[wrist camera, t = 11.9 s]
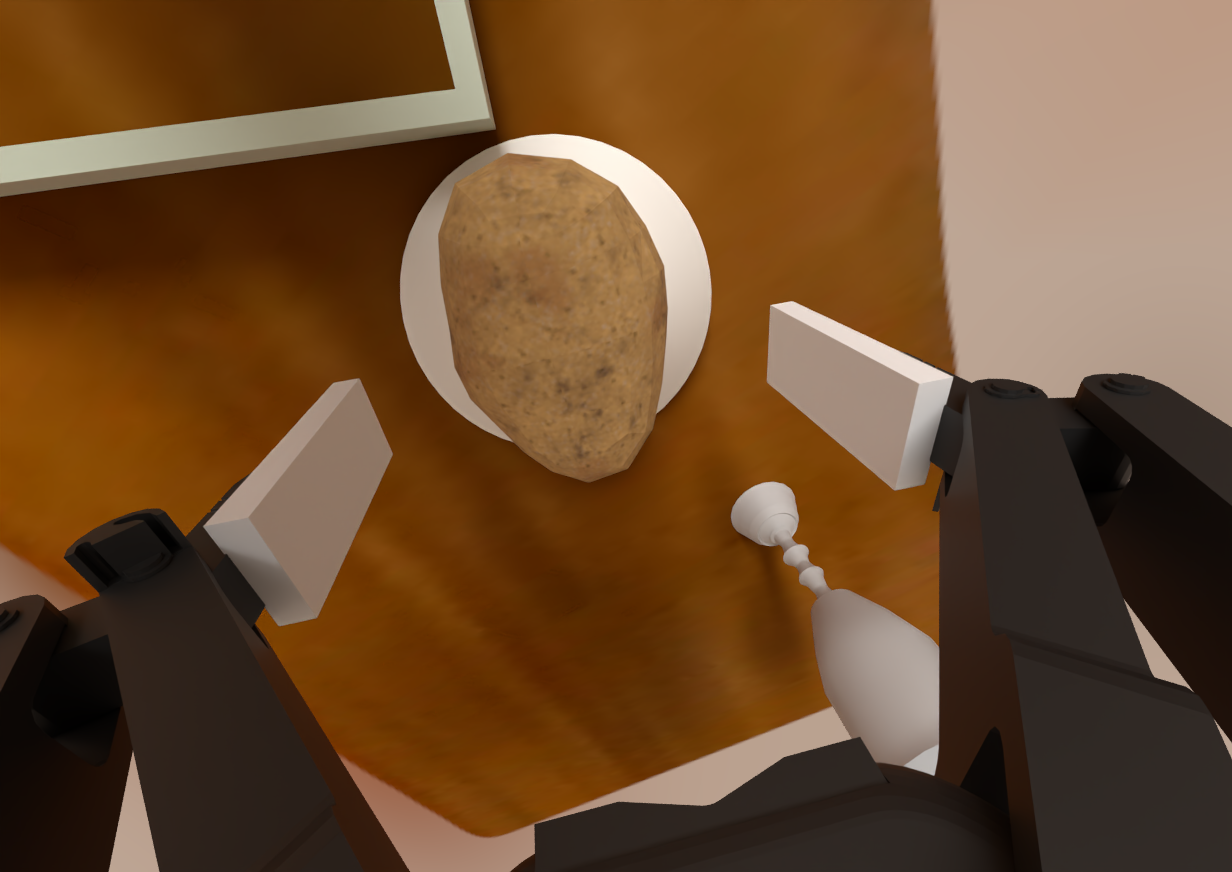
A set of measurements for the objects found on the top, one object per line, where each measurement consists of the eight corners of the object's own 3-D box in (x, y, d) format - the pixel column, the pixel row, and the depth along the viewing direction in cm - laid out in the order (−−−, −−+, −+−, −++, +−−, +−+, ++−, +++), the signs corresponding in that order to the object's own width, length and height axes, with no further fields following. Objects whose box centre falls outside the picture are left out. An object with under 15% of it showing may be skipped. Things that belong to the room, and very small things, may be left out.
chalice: (823, 507, 35) (1057, 760, 20) (753, 560, 37) (920, 835, 21) (774, 452, 32) (1006, 703, 17) (699, 513, 34) (848, 796, 18)
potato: (511, 450, 27) (505, 539, 20) (408, 186, 20) (347, 186, 14) (669, 407, 28) (715, 480, 21) (621, 134, 21) (667, 107, 14)
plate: (353, 162, 21) (344, 161, 20) (698, 114, 22) (706, 111, 21) (458, 461, 29) (455, 472, 27) (708, 413, 30) (714, 421, 29)
